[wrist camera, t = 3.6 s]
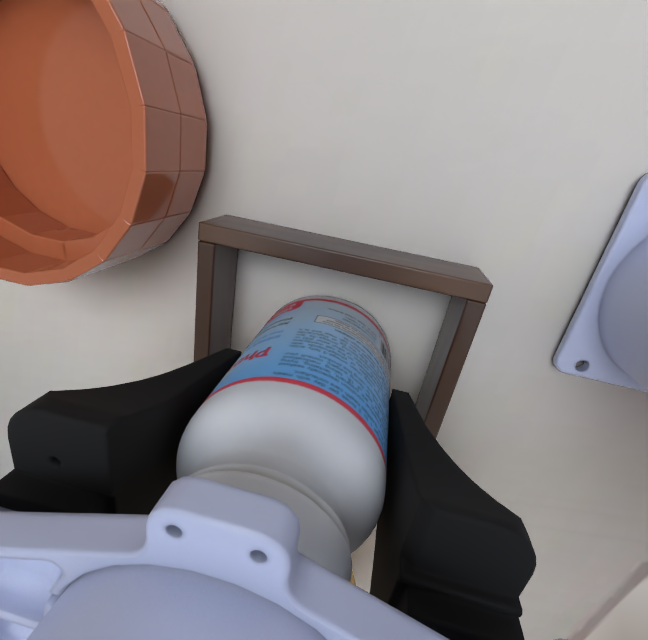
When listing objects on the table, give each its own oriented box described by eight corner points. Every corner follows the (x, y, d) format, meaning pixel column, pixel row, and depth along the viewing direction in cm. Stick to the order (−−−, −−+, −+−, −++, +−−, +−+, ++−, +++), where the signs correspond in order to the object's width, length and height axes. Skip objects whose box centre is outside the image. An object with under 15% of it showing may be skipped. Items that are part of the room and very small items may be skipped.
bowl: (221, -35, 13) (141, -128, 9) (206, 281, 18) (148, 315, 14) (-71, -78, 14) (-262, -177, 10) (-13, 230, 19) (-128, 248, 15)
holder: (479, 267, 15) (493, 285, 13) (409, 467, 20) (410, 506, 17) (225, 214, 16) (198, 221, 14) (212, 415, 21) (189, 446, 18)
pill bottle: (280, 274, 17) (100, 439, 7) (410, 317, 17) (432, 561, 6) (253, 382, 19) (94, 625, 9) (366, 421, 19) (332, 719, 9)
